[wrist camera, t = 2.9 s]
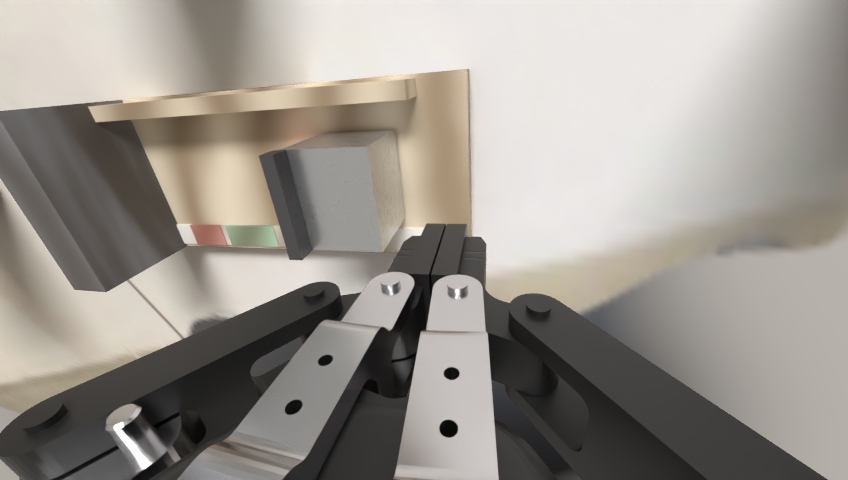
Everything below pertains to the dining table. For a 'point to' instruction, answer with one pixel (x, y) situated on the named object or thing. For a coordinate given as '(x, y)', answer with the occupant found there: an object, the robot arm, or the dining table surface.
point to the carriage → (336, 192)
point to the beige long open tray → (218, 166)
